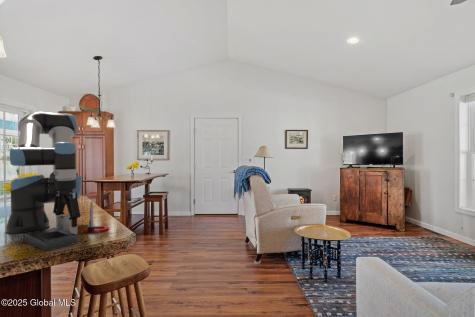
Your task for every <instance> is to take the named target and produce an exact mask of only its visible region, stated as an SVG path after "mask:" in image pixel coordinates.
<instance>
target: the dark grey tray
mask: <svg viewBox="0 0 475 317" xmlns="http://www.w3.org/2000/svg"><path fill="white" fill-rule="evenodd" d="M77 235H78V234H73V233H70V232H67V231H64V230H60V229H57V228H56V227H51V228H45V229H41V230H37V231H31V232H25V233H24V242H25V243H27V244H29V245H31V246H32V247H36V248H38V249H40V250H42V251H45V252H46V251H50V250H55V249H58V248H62V247H65V246H70V245H74V244H77Z"/></svg>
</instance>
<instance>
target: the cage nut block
mask: <svg viewBox="0 0 475 317" xmlns="http://www.w3.org/2000/svg"><path fill="white" fill-rule="evenodd" d="M69 218H70V215H69V214H66V215H64V216H59V217H58V229H60V230H64V231H67V232H69Z"/></svg>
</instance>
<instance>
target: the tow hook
mask: <svg viewBox="0 0 475 317" xmlns="http://www.w3.org/2000/svg"><path fill="white" fill-rule="evenodd" d="M93 204H94V202H93V201H91V202H90V207H89V222H88V226H87V228H84V229H83V230H82V233H85V234H100V232H101V233H102V232H106V231H109V228H110V227H109V226H108V225H107V226H106V225H96V226H94V205H93Z"/></svg>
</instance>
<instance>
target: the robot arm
mask: <svg viewBox="0 0 475 317" xmlns="http://www.w3.org/2000/svg"><path fill="white" fill-rule="evenodd" d="M77 126H78V125H77V119H76V116H74V114H71V113H66V112H62V113H59V112H50V111H49V112H46V111H36V112H32V113H29V114H27V115H25V116H24V117H22V118H21V119H20V120H19V122H18V124H17V128H18V131H19V137H18V142H17V147H11V148H10V149H9V162H10V165H11V166H15V167H16V166H17V167H26V166H27V167H28V166H29V167H30V166H52V172H50V174H49V177H45V176H44V174H38V175H36V174H33V175H29V176H27V175H26V176H22V177H17V178H14V179H12V180H11V181H10V189H9V192H10V214H9V217H8V220H7V223H6V224H5V225H6V226H5V232H6V233H7V234H21V233H22V234H25V233H31V232H36V231H41V230H45V229H48V228H49V227H50V219H49V218H48V215H47V212H46V210H45V204H51V203H53V211H52V212H53V214H55V223H56V224H55V228H57V229H58V217H59V216H65V215H64V214H65V212H64V210H65V207H66V208H67V212H68V215H70V218H69V232H70V233H73V234H76V235H78V218H80V217H81V211H80V206H79V205H80V204H79V199H80V197H81V191H82V190H81V189H82V180H83V177H82V176H81V175H79V174H78V172H77V149H76V148H77V147H76V143H75V142H73V140H72V139H73V138H74V136H76V135H77V134H78V127H77ZM40 135H48V137H49V138H50V139H51V141H52V144H51V145H52V147H40V141H41V140H40V139H41V138H40Z"/></svg>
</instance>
